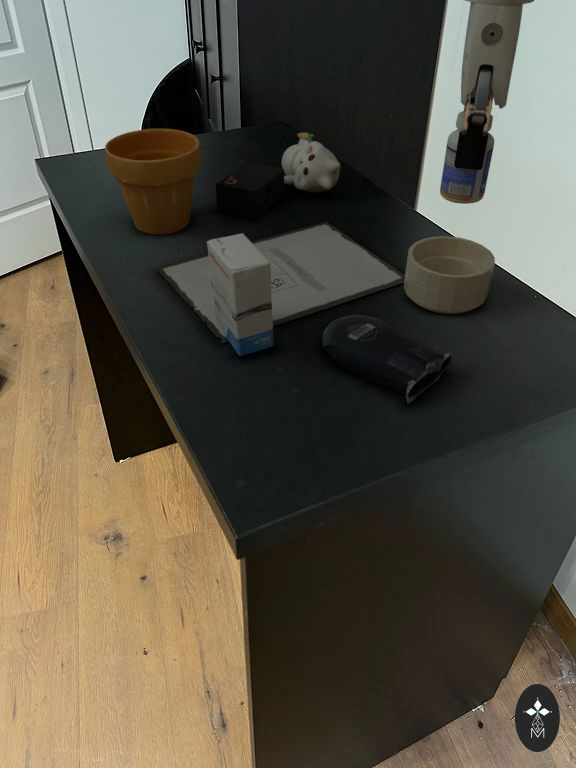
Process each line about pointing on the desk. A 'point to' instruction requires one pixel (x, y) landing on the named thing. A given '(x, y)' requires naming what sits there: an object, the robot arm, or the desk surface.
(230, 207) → the electronic device
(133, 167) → the flower pot
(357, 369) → the black pouch
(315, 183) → the cat figurine
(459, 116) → the pill bottle
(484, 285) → the basin
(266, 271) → the ink box
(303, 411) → the desk surface
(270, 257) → the picture frame
